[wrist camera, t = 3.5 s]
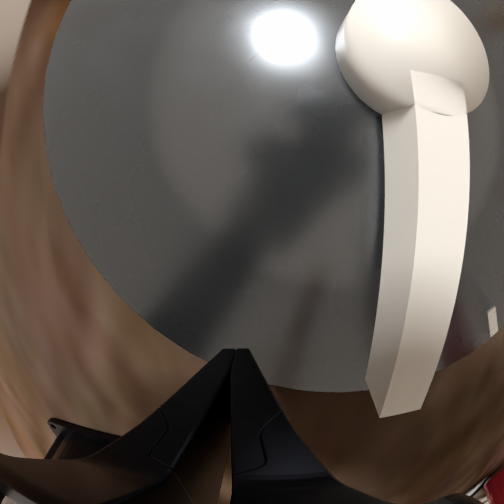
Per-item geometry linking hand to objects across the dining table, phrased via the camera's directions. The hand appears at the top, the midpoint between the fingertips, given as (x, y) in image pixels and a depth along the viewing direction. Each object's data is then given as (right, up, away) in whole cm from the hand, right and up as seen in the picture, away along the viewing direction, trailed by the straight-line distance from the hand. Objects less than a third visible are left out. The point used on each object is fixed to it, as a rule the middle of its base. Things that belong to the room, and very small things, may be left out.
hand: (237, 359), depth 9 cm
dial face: (+5, +9, -2) cm, 11 cm away
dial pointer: (+5, +5, -1) cm, 7 cm away
